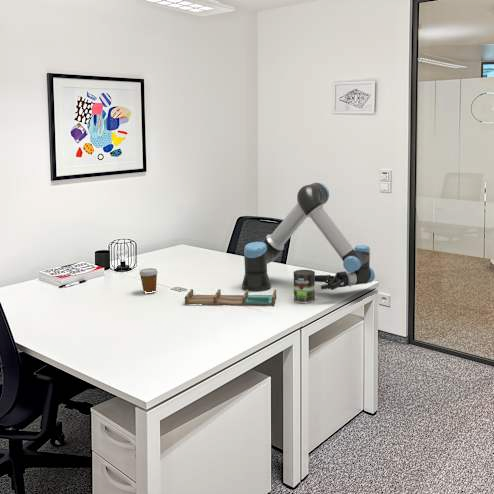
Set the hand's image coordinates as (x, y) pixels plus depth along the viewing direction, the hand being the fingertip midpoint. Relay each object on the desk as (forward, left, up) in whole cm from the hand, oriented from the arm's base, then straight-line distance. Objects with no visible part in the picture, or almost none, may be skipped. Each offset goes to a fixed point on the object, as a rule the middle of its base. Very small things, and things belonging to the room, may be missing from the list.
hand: (307, 284), depth 287 cm
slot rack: (+3, -37, -8) cm, 38 cm away
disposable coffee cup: (-12, -83, -8) cm, 84 cm away
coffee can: (0, -2, -8) cm, 8 cm away
